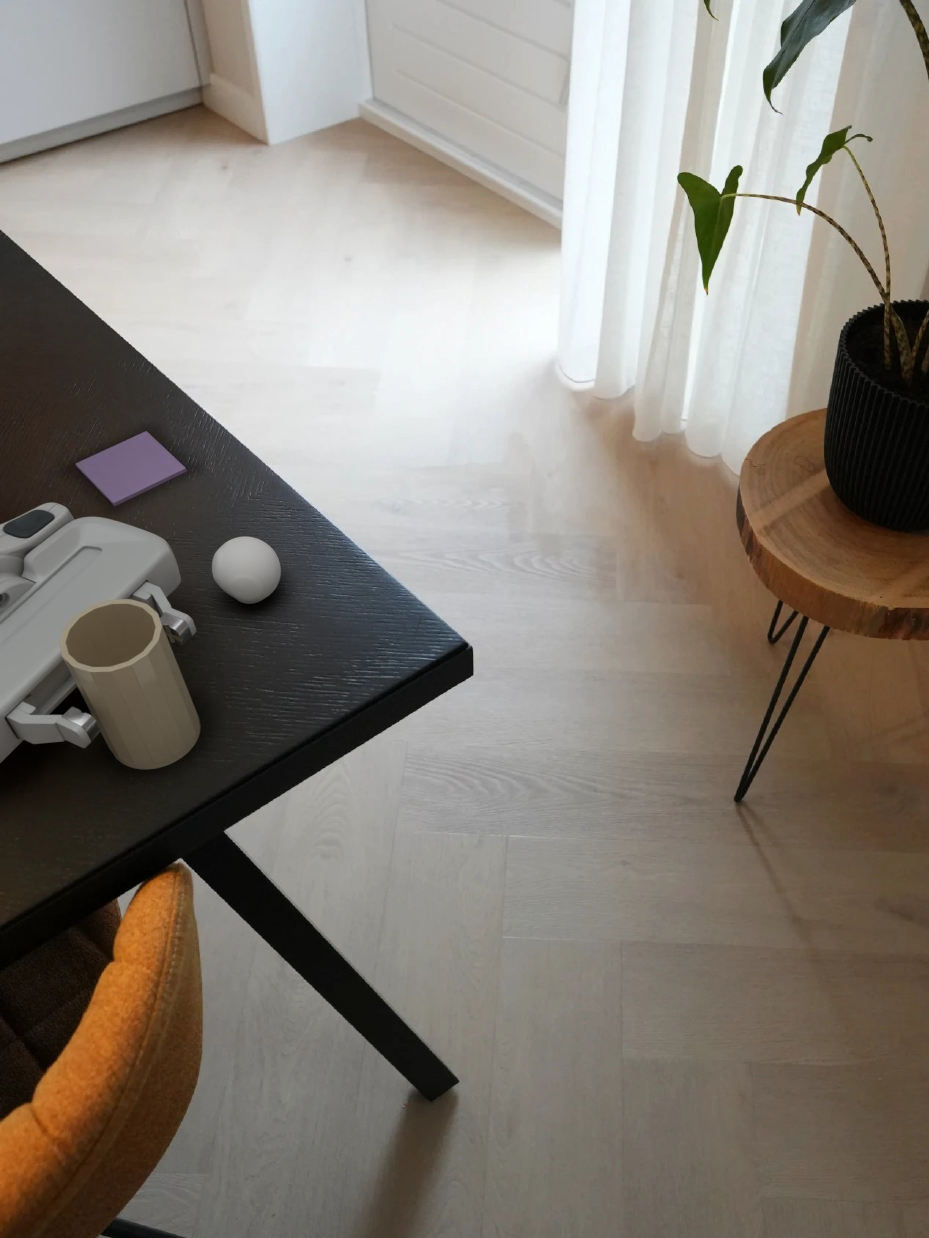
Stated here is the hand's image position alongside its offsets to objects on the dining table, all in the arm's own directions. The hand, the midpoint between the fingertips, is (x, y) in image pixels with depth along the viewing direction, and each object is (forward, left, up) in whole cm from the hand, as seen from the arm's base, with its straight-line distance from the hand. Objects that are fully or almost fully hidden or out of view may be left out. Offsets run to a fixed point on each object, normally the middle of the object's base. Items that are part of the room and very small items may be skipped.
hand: (141, 681), depth 73 cm
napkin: (-8, +28, -6) cm, 30 cm away
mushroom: (+4, +13, -6) cm, 15 cm away
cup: (-1, 0, -6) cm, 6 cm away
